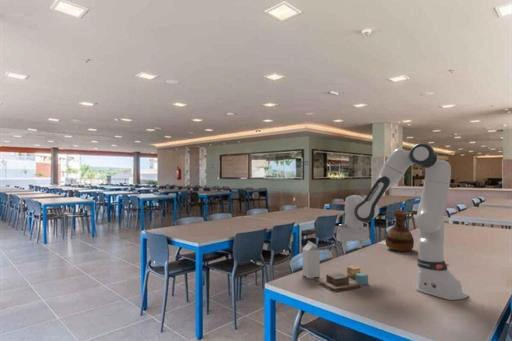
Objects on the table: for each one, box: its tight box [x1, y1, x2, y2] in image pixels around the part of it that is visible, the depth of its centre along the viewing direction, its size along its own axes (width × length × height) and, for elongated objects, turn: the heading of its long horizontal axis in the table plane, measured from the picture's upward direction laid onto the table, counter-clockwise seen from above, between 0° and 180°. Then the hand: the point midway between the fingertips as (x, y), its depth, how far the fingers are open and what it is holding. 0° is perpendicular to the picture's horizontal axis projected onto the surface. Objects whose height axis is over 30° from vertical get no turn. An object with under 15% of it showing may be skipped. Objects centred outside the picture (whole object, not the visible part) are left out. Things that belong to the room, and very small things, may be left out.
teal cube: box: [354, 272, 369, 286], centre depth 164 cm, size 4×4×4 cm
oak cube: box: [346, 265, 361, 279], centre depth 176 cm, size 5×5×5 cm
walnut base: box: [315, 272, 362, 292], centre depth 162 cm, size 16×16×4 cm
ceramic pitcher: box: [385, 210, 415, 252], centre depth 242 cm, size 20×20×30 cm
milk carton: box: [302, 240, 321, 279], centre depth 176 cm, size 7×7×19 cm
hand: (352, 248), depth 177 cm, fingers open, 8 cm apart
